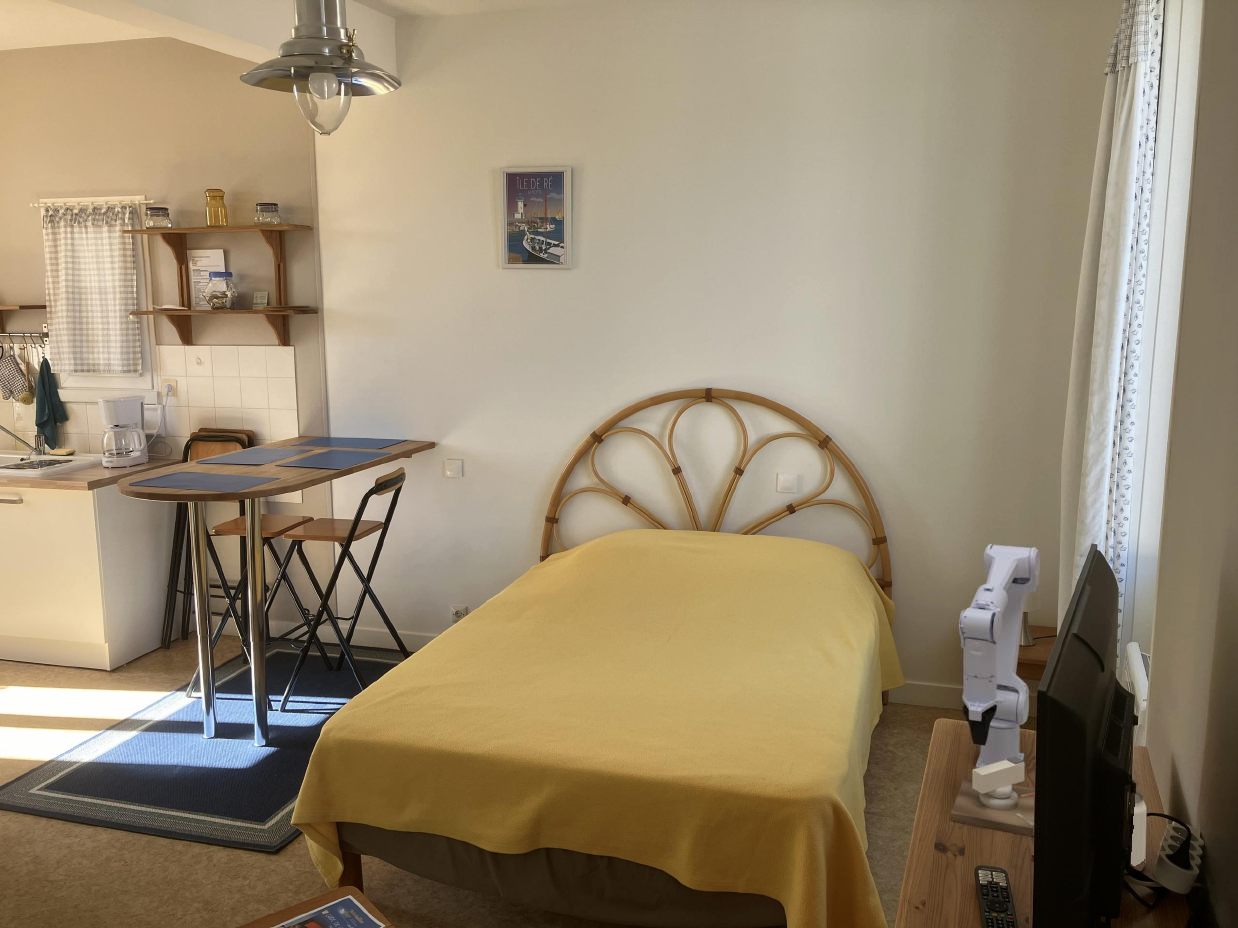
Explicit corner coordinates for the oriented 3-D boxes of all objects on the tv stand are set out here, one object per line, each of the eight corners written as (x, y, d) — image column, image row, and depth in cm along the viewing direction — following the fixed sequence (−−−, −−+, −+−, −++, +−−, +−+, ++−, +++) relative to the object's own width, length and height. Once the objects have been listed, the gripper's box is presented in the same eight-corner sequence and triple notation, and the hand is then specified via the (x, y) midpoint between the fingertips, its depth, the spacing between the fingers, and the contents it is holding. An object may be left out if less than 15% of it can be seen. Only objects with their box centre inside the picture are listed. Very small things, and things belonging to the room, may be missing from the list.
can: (1150, 876, 150) (1152, 805, 148) (1106, 874, 151) (1107, 802, 149) (1137, 854, 156) (1139, 785, 154) (1094, 852, 157) (1096, 783, 156)
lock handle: (986, 803, 168) (986, 775, 167) (968, 793, 172) (968, 765, 171) (1028, 790, 172) (1028, 762, 171) (1009, 780, 176) (1009, 753, 175)
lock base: (964, 784, 182) (964, 769, 182) (1043, 797, 176) (1044, 782, 175) (951, 820, 169) (951, 804, 169) (1036, 837, 163) (1036, 820, 162)
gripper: (999, 689, 166) (998, 762, 168) (1007, 662, 179) (1006, 731, 181) (956, 684, 170) (956, 756, 171) (967, 658, 182) (967, 726, 184)
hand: (979, 743), depth 176 cm, fingers closed
